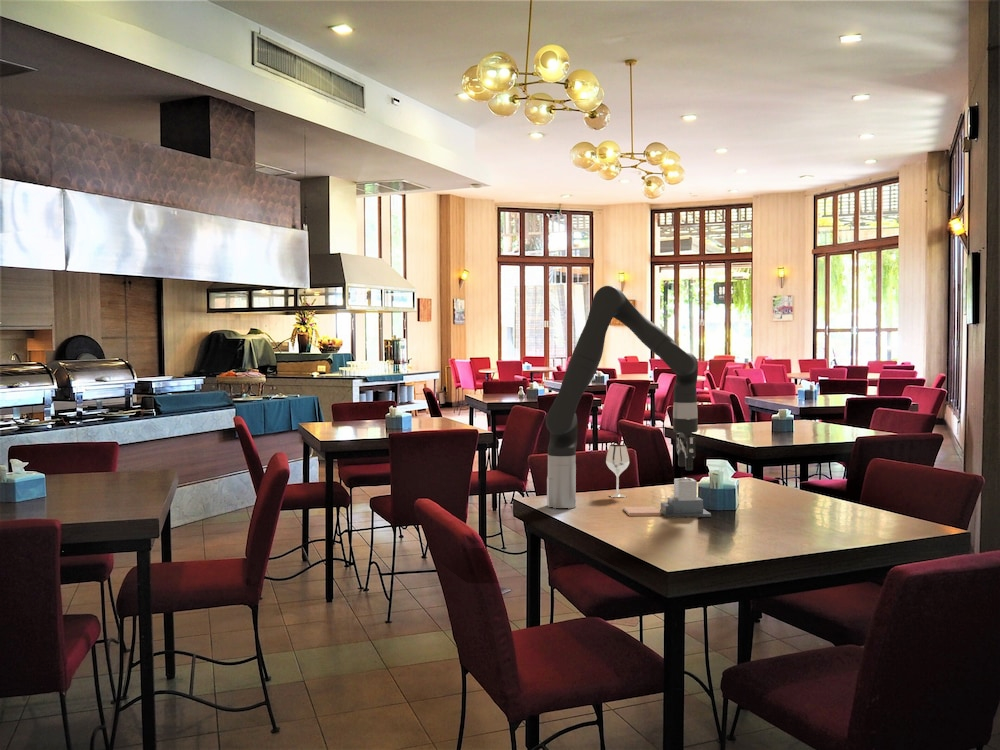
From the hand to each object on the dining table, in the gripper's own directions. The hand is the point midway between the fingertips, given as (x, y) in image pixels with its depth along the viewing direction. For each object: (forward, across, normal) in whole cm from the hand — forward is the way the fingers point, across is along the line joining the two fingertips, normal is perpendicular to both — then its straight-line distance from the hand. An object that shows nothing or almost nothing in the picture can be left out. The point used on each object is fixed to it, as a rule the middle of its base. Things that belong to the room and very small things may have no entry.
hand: (685, 468), depth 267 cm
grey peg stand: (+15, 0, 0) cm, 15 cm away
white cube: (+10, 0, 0) cm, 10 cm away
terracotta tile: (+14, -4, -13) cm, 20 cm away
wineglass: (+15, -34, -15) cm, 40 cm away
